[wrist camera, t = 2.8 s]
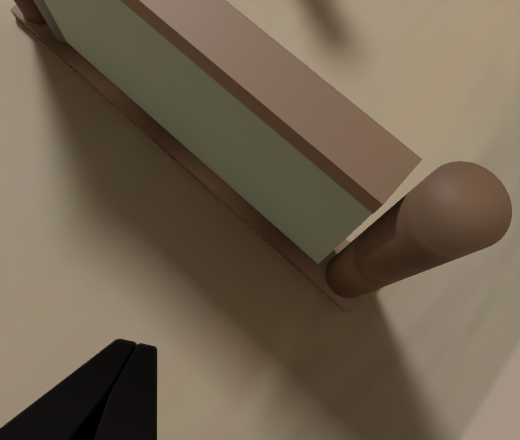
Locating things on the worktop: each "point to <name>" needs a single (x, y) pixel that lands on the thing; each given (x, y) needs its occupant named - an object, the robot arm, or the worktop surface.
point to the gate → (243, 110)
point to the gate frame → (345, 254)
